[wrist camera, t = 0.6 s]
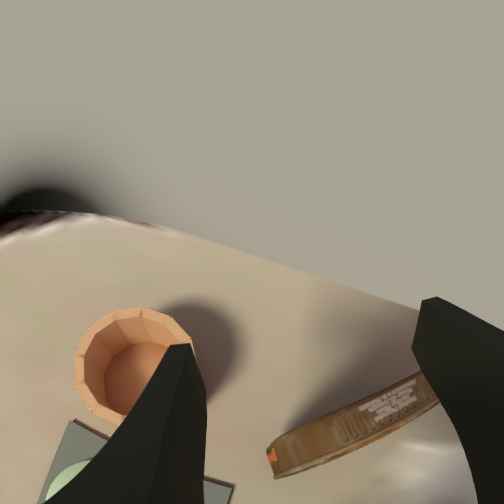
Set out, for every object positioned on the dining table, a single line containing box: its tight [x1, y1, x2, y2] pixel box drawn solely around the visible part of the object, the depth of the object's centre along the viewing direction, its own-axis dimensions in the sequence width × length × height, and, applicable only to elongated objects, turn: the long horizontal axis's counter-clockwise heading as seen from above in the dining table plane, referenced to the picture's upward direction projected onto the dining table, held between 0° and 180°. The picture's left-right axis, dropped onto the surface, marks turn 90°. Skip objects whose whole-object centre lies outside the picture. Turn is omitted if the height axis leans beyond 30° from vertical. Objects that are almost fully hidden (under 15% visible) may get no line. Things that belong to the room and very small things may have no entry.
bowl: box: [74, 307, 199, 427], centre depth 22 cm, size 9×9×5 cm
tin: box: [266, 371, 440, 479], centre depth 19 cm, size 15×3×8 cm, turn 107°
